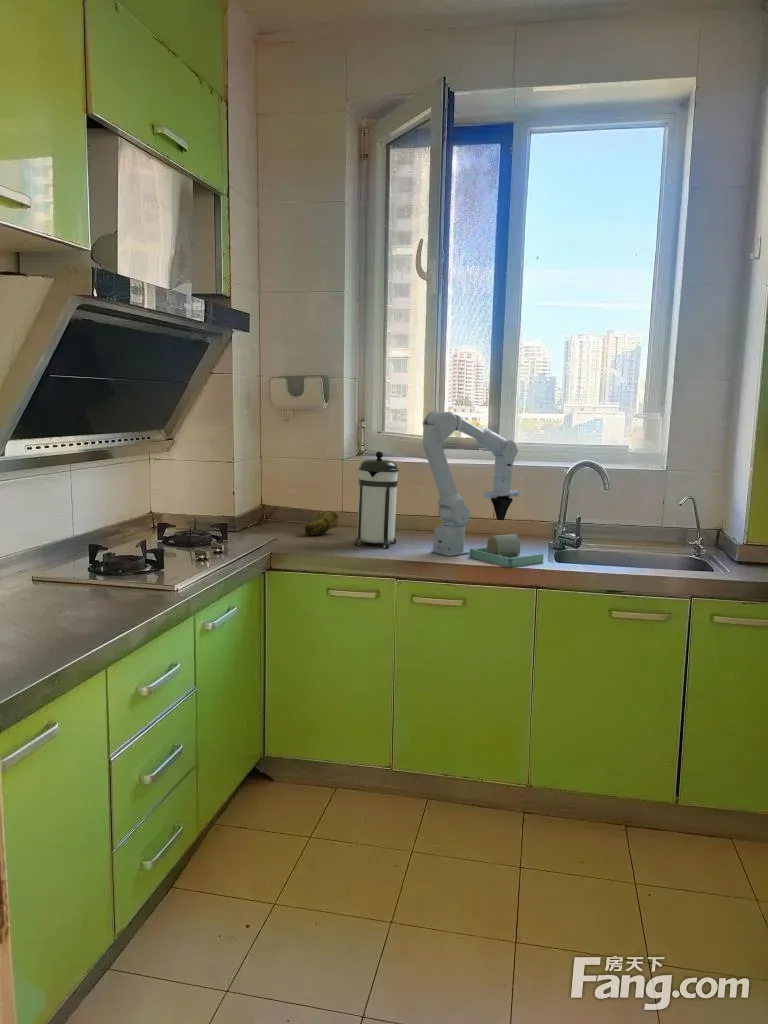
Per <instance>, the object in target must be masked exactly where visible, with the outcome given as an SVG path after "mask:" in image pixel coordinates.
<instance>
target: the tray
mask: <svg viewBox="0 0 768 1024" xmlns="http://www.w3.org/2000/svg"><path fill="white" fill-rule="evenodd" d="M469 552H470V553H469V559H474V560H479V561H483V562H486V563H490V564H494V565H498V566H504V567H506V568H515V567H520V566H527V565H529V566H530V565H535V564H541V563H544V553H535V554H530V555H523V556H520V555H519V557H513V558H508V557H504V556H500V555H495V554H491V553H488V550H487V546H486V547H479V548H471V549H469Z"/></svg>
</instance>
